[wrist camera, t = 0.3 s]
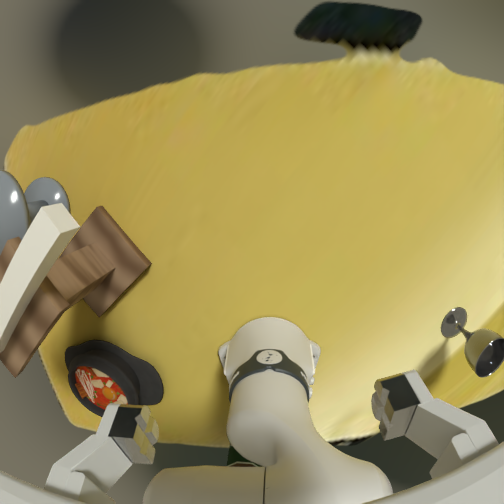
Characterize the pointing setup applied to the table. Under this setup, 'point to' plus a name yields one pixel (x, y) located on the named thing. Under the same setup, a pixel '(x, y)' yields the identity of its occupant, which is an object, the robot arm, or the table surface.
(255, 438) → the robot arm
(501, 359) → the wine glass
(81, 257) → the walnut stand
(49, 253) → the bar
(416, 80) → the table surface
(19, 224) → the cake stand
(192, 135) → the table surface
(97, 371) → the casserole
